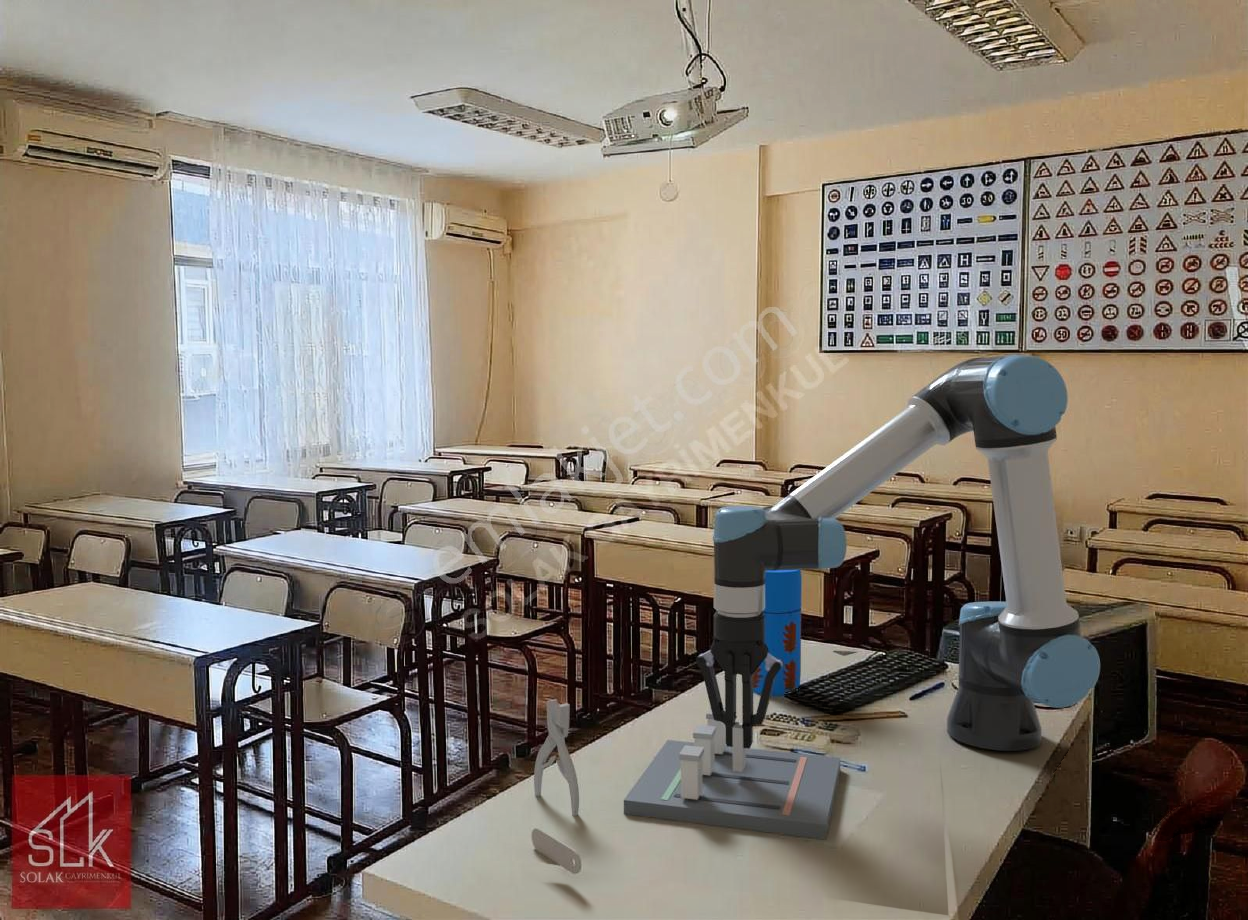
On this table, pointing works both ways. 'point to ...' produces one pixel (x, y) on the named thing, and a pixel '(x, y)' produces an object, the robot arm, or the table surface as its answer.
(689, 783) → the block
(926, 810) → the table surface
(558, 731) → the pliers
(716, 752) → the block
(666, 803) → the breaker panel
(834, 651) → the usb drive
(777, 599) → the thermos
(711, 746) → the block
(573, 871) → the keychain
